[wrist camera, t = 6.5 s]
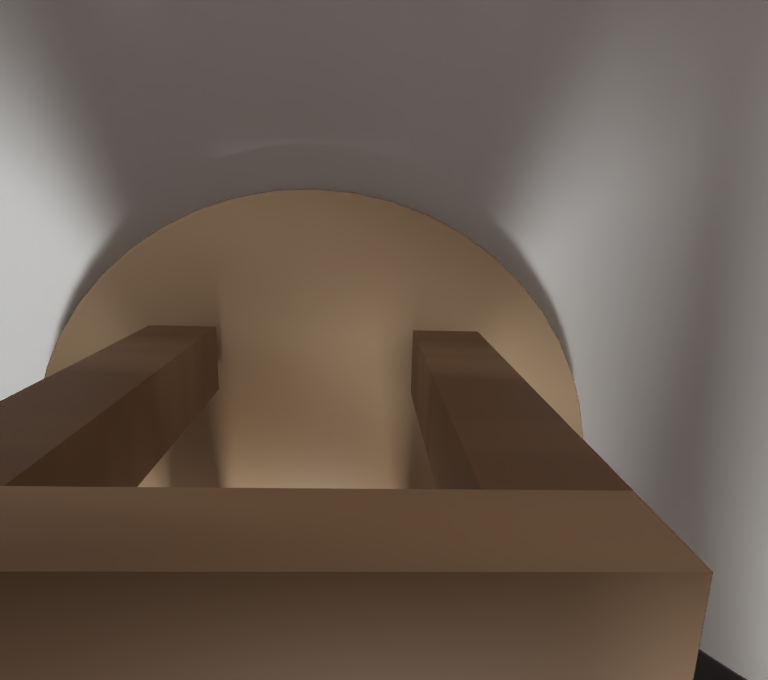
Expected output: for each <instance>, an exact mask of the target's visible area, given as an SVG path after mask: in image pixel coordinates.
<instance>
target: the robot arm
mask: <svg viewBox="0 0 768 680" xmlns="http://www.w3.org/2000/svg"><path fill="white" fill-rule="evenodd" d="M693 680H747V679H745V678H743V677H742V676H740V675H738V674H737V673H735V672H734V671H732V670H731V669H729V668H727V667H726V666H724V665H723V664H721V663H720V662H718V661H717V660H715V659H714V658H712V657H710V656H709V655H707V654H706V653H704V652H703V651H701V650H700V649H699V650H698V656H697V661H696V667H695V672H694V678H693Z"/></svg>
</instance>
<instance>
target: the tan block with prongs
mask: <svg viewBox="0 0 768 680" xmlns="http://www.w3.org/2000/svg"><path fill="white" fill-rule="evenodd" d="M218 390H219V381H218V357H217V334H216V326H165V325H149V326H147V327H145V328H143V329H141V330H139V331H137V332H135V333H133V334H131V335H129V336H127V337H125V338H123V339H121V340H119V341H117V342H115V343H113V344H111V345H109V346H108V347H106V348H104V349H102V350H100V351H98V352H96V353H94V354H92V355H90V356H88V357H86V358H84V359H82V360H80V361H78V362H76V363H74V364H72V365H70V366H68V367H66V368H64V369H62V370H61V371H59V372H57V373H55V374H53V375H51V376H49V377H47V378H45V379H43V380H41V381H39V382H37V383H35V384H33V385H31V386H29V387H27V388H25V389H23V390H21V391H19V392H17V393H15V394H14V395H12V396H10V397H8V398H6V399H4V400H2V401H0V680H693V678H694V672H695V667H696V661H697V656H698V650H699V645H700V639H701V634H702V629H703V623H704V618H705V612H706V607H707V601H708V596H709V590H710V585H711V579H712V574H713V572H712V571H711V570H710V569H709V568H708V567H707V566H706V565H705V564H704V563H703V562H702V561H701V560H700V559H699V558H698V557H697V556H696V555H695V553H694V552H693V551H692V550H691V549H690V548H689V547H688V546H687V545H686V544H685V543H684V542H683V541H682V540H681V539H680V538H679V537H678V536H677V535H676V534H675V533H674V532H673V531H672V530H671V529H670V528H669V527H668V526H667V525H666V524H665V523H664V522H663V521H662V520H661V519H660V518H659V517H658V516H657V515H656V514H655V513H654V512H653V511H652V509H651V508H650V507H649V506H648V505H647V504H646V503H645V502H644V501H643V500H642V499H641V498H640V497H639V496H638V495H637V494H636V493H635V492H634V491H633V490H632V489H631V488H630V487H629V486H628V485H627V484H626V483H625V482H624V481H623V480H622V479H621V478H620V477H619V476H618V475H617V474H616V473H615V472H614V471H613V470H612V469H611V468H610V467H609V465H608V464H607V463H606V462H605V461H604V460H603V459H602V458H601V457H600V456H599V455H598V454H597V453H596V452H595V451H594V450H593V449H592V448H591V447H590V446H589V445H588V444H587V443H586V442H585V441H584V440H583V439H582V438H581V437H580V436H579V435H578V434H577V433H576V432H575V431H574V430H573V429H572V428H571V427H570V426H569V425H568V424H567V422H566V421H565V420H564V419H563V418H562V417H561V416H560V415H559V414H558V413H557V412H556V411H555V410H554V409H553V408H552V407H551V406H550V405H549V404H548V403H547V402H546V401H545V400H544V399H543V398H542V397H541V396H540V395H539V394H538V393H537V392H536V391H535V390H534V389H533V388H532V387H531V386H530V385H529V384H528V383H527V382H526V381H525V380H524V378H523V377H522V376H521V375H520V374H519V373H518V372H517V371H516V370H515V369H514V368H513V367H512V366H511V365H510V364H509V363H508V362H507V361H506V360H505V359H504V358H503V357H502V356H501V355H500V354H499V353H498V352H497V351H496V350H495V349H494V348H493V347H492V346H491V345H490V344H489V343H488V342H487V341H486V340H485V339H484V338H483V337H482V335H481V334H480V333H479V332H477V331H425V330H413V348H412V373H411V395H412V399H413V403H414V406H415V410H416V414H417V418H418V422H419V425H420V429H421V433H422V437H423V441H424V444H425V448H426V452H427V456H428V460H429V463H430V467H431V471H432V475H433V479H434V482H435V486H436V489H335V488H199V487H138V486H139V484H140V483H141V482H142V481H143V480H144V478H145V477H146V476H147V475H148V474H149V472H150V471H151V470H152V469H153V468H154V466H155V465H156V464H157V463H158V462H159V460H160V459H161V458H162V457H163V456H164V454H165V453H166V452H167V451H168V450H169V448H170V447H171V446H172V445H173V444H174V442H175V441H176V440H177V439H178V438H179V436H180V435H181V434H182V433H183V432H184V430H185V429H186V428H187V427H188V426H189V425H190V423H191V422H192V421H193V420H194V419H195V417H196V416H197V415H198V414H199V413H200V411H201V410H202V409H203V408H204V407H205V405H206V404H207V403H208V402H209V401H210V399H211V398H212V397H213V396H214V395H215V393H216V392H217V391H218Z"/></svg>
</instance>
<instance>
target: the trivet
mask: <svg viewBox="0 0 768 680" xmlns="http://www.w3.org/2000/svg"><path fill="white" fill-rule="evenodd" d="M149 325H165V326H216V334H217V357H218V381H219V390H218V391H217V392H216V393H215V395H214V396H213V397H212V398H211V399H210V401H209V402H208V403H207V404H206V405H205V407H204V408H203V409H202V410H201V411H200V413H199V414H198V415H197V416H196V417H195V419H194V420H193V421H192V422H191V423H190V425H189V426H188V427H187V428H186V429H185V430H184V432H183V433H182V434H181V435H180V436H179V438H178V439H177V440H176V441H175V442H174V444H173V445H172V446H171V447H170V448H169V450H168V451H167V452H166V453H165V454H164V456H163V457H162V458H161V459H160V460H159V462H158V463H157V464H156V465H155V466H154V468H153V469H152V470H151V471H150V472H149V474H148V475H147V476H146V477H145V478H144V480H143V481H142V482H141V483H140V484H139V486H138V487H199V488H335V489H436V486H435V482H434V479H433V475H432V471H431V467H430V463H429V460H428V456H427V452H426V448H425V444H424V441H423V437H422V433H421V429H420V425H419V422H418V418H417V414H416V410H415V406H414V403H413V399H412V395H411V373H412V348H413V330H425V331H477V332H479V333H480V334H481V335H482V337H483V338H484V339H485V340H486V341H487V342H488V343H489V344H490V345H491V346H492V347H493V348H494V349H495V350H496V351H497V352H498V353H499V354H500V355H501V356H502V357H503V358H504V359H505V360H506V361H507V362H508V363H509V364H510V365H511V366H512V367H513V368H514V369H515V370H516V371H517V372H518V373H519V374H520V375H521V376H522V377H523V378H524V380H525V381H526V382H527V383H528V384H529V385H530V386H531V387H532V388H533V389H534V390H535V391H536V392H537V393H538V394H539V395H540V396H541V397H542V398H543V399H544V400H545V401H546V402H547V403H548V404H549V405H550V406H551V407H552V408H553V409H554V410H555V411H556V412H557V413H558V414H559V415H560V416H561V417H562V418H563V419H564V420H565V421H566V422H567V424H568V425H569V426H570V427H571V428H572V429H573V430H574V431H575V432H576V433H577V434H578V435H579V436H580V437H581V438H582V439H583V433H582V423H581V413H580V405H579V400H578V396H577V392H576V388H575V384H574V380H573V376H572V372H571V370H570V367H569V365H568V362H567V360H566V357H565V355H564V352H563V350H562V347H561V345H560V342H559V340H558V338H557V337H556V335H555V333H554V331H553V330H552V328H551V326H550V324H549V323H548V321H547V319H546V318H545V316H544V314H543V312H542V311H541V309H540V308H539V307H538V305H537V304H536V303H535V302H534V300H533V299H532V298H531V296H530V295H529V294H528V293H527V291H526V290H525V289H524V287H523V286H522V285H521V284H520V282H519V281H518V280H517V279H516V278H515V277H514V276H513V275H511V274H510V273H509V272H508V271H507V270H506V269H505V268H504V267H503V266H502V265H501V264H500V263H499V262H498V261H497V260H496V259H495V258H494V257H493V256H492V255H490V254H489V253H487V252H486V251H485V250H483V249H482V248H481V247H479V246H478V245H477V244H475V243H474V242H473V241H471V240H470V239H468V238H467V237H466V236H464V235H463V234H461V233H459V232H458V231H456V230H454V229H452V228H450V227H448V226H447V225H445V224H443V223H441V222H439V221H437V220H435V219H434V218H432V217H430V216H428V215H425V214H423V213H420V212H417V211H415V210H412V209H409V208H407V207H404V206H401V205H399V204H396V203H394V202H390V201H386V200H382V199H377V198H373V197H369V196H364V195H360V194H356V193H348V192H337V191H327V190H316V189H308V190H285V191H271V192H265V193H260V194H254V195H248V196H243V197H237V198H233V199H230V200H227V201H224V202H221V203H218V204H215V205H211V206H208V207H205V208H202V209H199V210H196V211H194V212H192V213H190V214H188V215H186V216H184V217H182V218H180V219H178V220H176V221H174V222H172V223H170V224H168V225H166V226H164V227H162V228H160V229H159V230H157V231H156V232H154V233H153V234H151V235H150V236H148V237H147V238H145V239H144V240H143V241H141V242H140V243H138V244H137V245H135V246H134V247H132V248H131V249H129V250H128V251H127V252H126V253H125V254H124V255H123V256H122V257H121V258H120V259H119V260H117V261H116V262H115V263H114V264H113V265H112V266H111V267H110V268H109V269H108V270H107V271H105V272H104V273H103V274H102V275H101V277H100V278H99V279H98V280H97V281H96V283H95V284H94V285H93V286H92V288H91V289H90V290H89V291H88V292H87V294H86V295H85V296H84V297H83V299H82V300H81V301H80V302H79V304H78V305H77V307H76V309H75V310H74V312H73V314H72V315H71V317H70V319H69V321H68V322H67V324H66V326H65V327H64V329H63V331H62V332H61V334H60V336H59V339H58V341H57V344H56V346H55V349H54V351H53V354H52V356H51V359H50V361H49V363H48V366H47V369H46V373H45V378H47V377H49V376H51V375H53V374H55V373H57V372H59V371H61V370H62V369H64V368H66V367H68V366H70V365H72V364H74V363H76V362H78V361H80V360H82V359H84V358H86V357H88V356H90V355H92V354H94V353H96V352H98V351H100V350H102V349H104V348H106V347H108V346H109V345H111V344H113V343H115V342H117V341H119V340H121V339H123V338H125V337H127V336H129V335H131V334H133V333H135V332H137V331H139V330H141V329H143V328H145V327H147V326H149ZM45 378H44V379H45Z"/></svg>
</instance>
